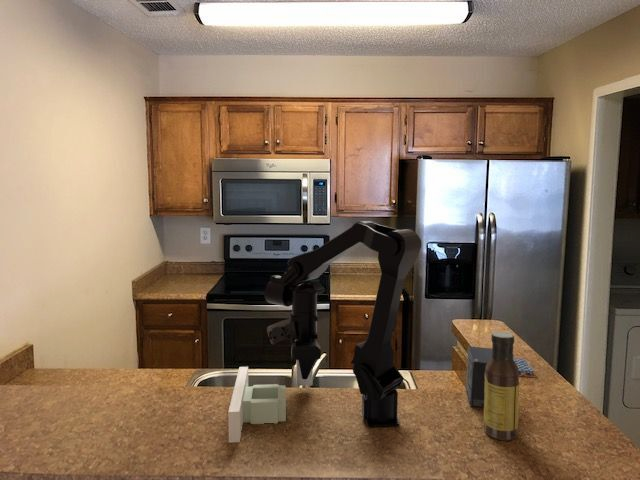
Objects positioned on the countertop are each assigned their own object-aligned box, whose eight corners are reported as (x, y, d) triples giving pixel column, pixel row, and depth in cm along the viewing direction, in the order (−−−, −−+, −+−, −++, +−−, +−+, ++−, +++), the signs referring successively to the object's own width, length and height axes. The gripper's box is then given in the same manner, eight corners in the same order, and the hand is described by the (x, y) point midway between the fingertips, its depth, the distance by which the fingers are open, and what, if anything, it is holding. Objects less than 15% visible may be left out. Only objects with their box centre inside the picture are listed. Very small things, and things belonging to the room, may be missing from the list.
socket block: (285, 403, 103) (285, 384, 103) (285, 423, 94) (285, 401, 94) (246, 404, 102) (246, 385, 102) (242, 424, 94) (242, 402, 93)
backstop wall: (248, 391, 109) (248, 366, 108) (239, 442, 87) (239, 411, 87) (239, 391, 109) (239, 366, 108) (228, 442, 87) (228, 411, 86)
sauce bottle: (499, 422, 95) (503, 327, 93) (524, 437, 90) (530, 336, 88) (475, 429, 92) (479, 331, 90) (500, 445, 87) (505, 340, 85)
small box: (501, 411, 100) (503, 363, 99) (469, 408, 102) (471, 361, 101) (493, 390, 111) (495, 347, 110) (464, 387, 112) (466, 345, 111)
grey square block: (311, 378, 111) (311, 350, 110) (312, 385, 107) (312, 355, 106) (296, 379, 110) (296, 350, 110) (296, 385, 107) (296, 355, 106)
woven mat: (493, 377, 120) (494, 369, 120) (485, 361, 130) (485, 354, 130) (537, 379, 118) (537, 371, 118) (525, 364, 129) (525, 357, 128)
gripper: (270, 300, 116) (270, 361, 117) (267, 321, 97) (268, 394, 99) (315, 300, 116) (314, 360, 118) (321, 321, 98) (320, 392, 100)
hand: (304, 375), depth 109 cm, fingers closed on grey square block, 4 cm apart
